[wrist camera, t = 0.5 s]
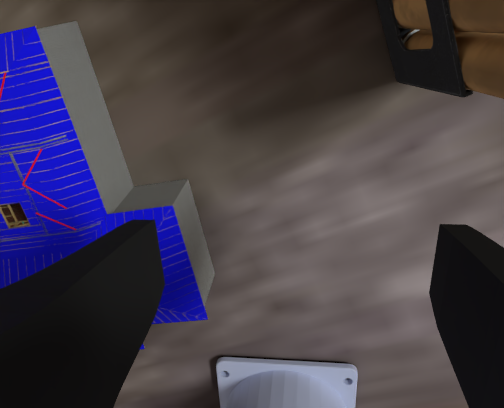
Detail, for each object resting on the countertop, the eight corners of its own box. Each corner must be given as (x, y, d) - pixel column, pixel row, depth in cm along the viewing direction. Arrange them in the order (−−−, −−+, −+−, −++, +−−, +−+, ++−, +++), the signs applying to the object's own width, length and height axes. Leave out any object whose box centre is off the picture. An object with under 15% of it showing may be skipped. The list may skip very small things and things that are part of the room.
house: (48, 312, 27) (-8, 384, 22) (-81, 53, 21) (-197, 78, 16) (227, 295, 25) (208, 371, 20) (146, 2, 18) (89, 13, 14)
